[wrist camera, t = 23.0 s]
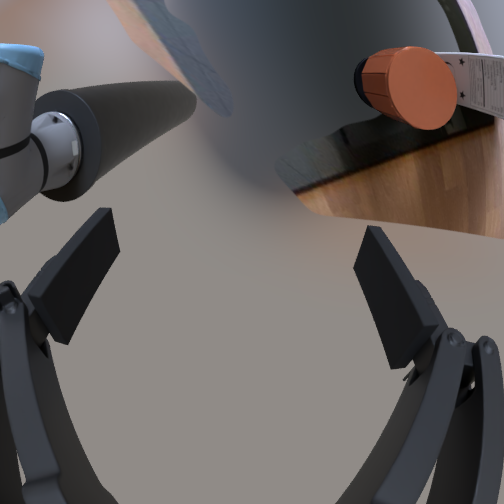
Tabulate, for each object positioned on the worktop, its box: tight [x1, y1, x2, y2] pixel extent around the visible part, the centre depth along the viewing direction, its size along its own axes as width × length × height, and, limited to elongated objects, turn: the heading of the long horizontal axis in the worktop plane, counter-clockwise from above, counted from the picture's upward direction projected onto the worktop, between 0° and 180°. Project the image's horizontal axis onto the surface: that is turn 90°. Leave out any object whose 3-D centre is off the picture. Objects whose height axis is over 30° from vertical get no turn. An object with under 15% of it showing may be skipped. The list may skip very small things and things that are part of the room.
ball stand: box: [354, 57, 375, 109], centre depth 28 cm, size 9×9×6 cm
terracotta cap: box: [362, 46, 457, 130], centre depth 24 cm, size 10×10×8 cm
